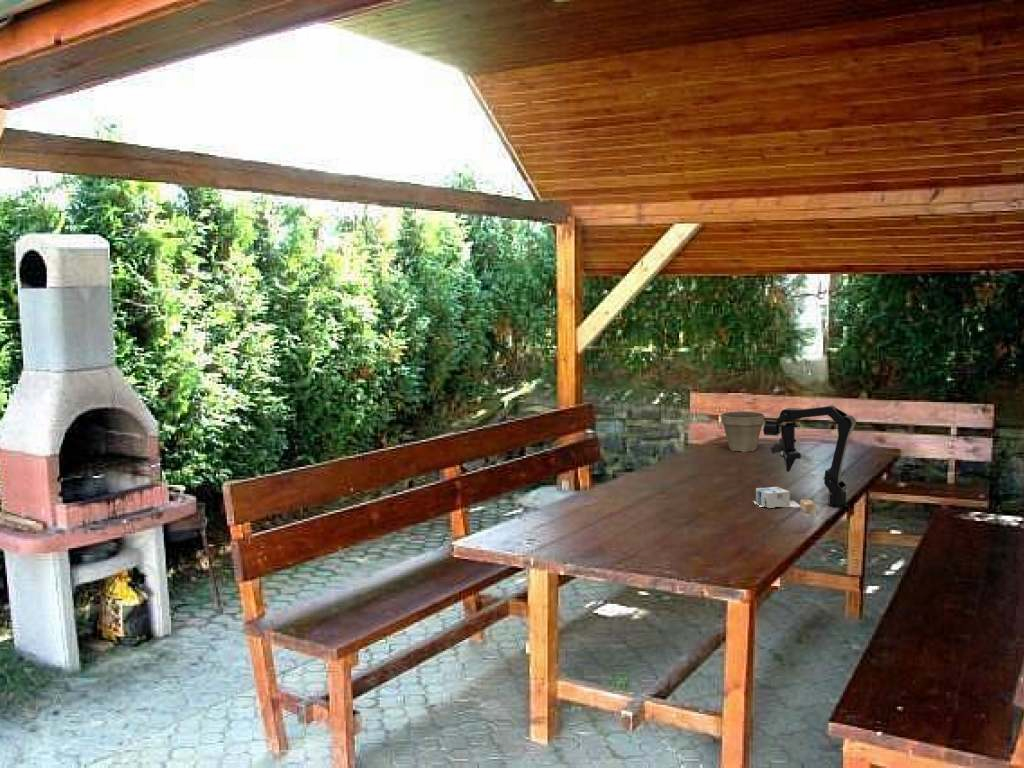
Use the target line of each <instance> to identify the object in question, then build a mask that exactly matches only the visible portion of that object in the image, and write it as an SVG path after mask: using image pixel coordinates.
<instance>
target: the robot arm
mask: <svg viewBox="0 0 1024 768" xmlns="http://www.w3.org/2000/svg"><path fill="white" fill-rule="evenodd" d="M822 416H827V417H829V418H830V419H832V421H833V422H834V423H835V424H837V434H838V436H837V440H836V446H835V449H834V452H833V457H832V462H831V466H830V468H827V469H825V471H824V477H823V478H822V479H823V480H824V481H823V483H824V485H825V487H826V488H827V489H828V494H827V504H828V505H829V506H830V507H832V508H840V507H841V508H843V507H844V508H847V507H848V505H847V491H846V490H847V488H848V485H847V484H846V483H845V482H844V481H843V471H842V467H843V462H844V460H845V459H844V458H845V455H846V451H847V447H848V443H849V438H850V436H851V434H852V432H853V430H854V428H855V426H856V424H857V420H856V419H855V417H854V416H853V415H849V414H847V413H846V412H844V411H842V410H840V409H839V408H837V407H836V406H835V405H833V404H830V405H827V406H818V407H809V408H798V407H797V408H796V407H794V408H793V407H788V408H784V409H782V410H781V412H780V413H779V417H778V418H777V420H772V419H771V420H769V419H766V420H764V426H763V434H764V436H771V437H778V436H779V435H781V437H779V439H778V440H779V441H778V442H774V443H771V444H769V445H768V446H767V448H768V451H769V453H770V454H771V455H774V454H776V453H777V454H778V455H779V457H780V458H782V460H783V463H784V467H785V471H786V472H787V473H788V472H790V471H791V470H792V467H793V464H794V462H795V461H796V460H797V459H798V460H800V459H801V458H802V454H801V452H799V451H798V450H797V448H795V447H796V445H795V444H796V442H797V439H796V429H795V428H798V427H799V428H800V424H799V422H797V421H796V420H799V419H803V418H812V417H822ZM784 423H785V424H784ZM779 453H780V454H779Z"/></svg>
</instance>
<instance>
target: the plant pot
mask: <svg viewBox="0 0 1024 768" xmlns="http://www.w3.org/2000/svg"><path fill="white" fill-rule="evenodd" d="M720 417H721V418H720V420H721V421H720V422H721V424H722V425H723V428H724V432H725V436H726V440H727V443H728V447H729V450H730V451H731V450H732V451H731V452H734V451H741V452H740V453H748V452H747V451H753V452H755V451H756V449H757V447H758V442H759V438H760V434H761V432H762V427H763V424H765V414H764V413H762V412H756V411H729V412H723V413H721V414H720ZM754 450H755V451H754Z"/></svg>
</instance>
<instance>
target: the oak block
mask: <svg viewBox="0 0 1024 768" xmlns="http://www.w3.org/2000/svg"><path fill="white" fill-rule="evenodd" d="M799 505H800V507H799V509H800V508H801V509H802V510H803V511H802V510H801V509H800V510H801V511H802V512H803V513H804V514H816V513H817V512H816V511H817V510H816V503H814V501H812V500H811V499H800V501H799Z"/></svg>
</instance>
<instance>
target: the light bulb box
mask: <svg viewBox="0 0 1024 768" xmlns="http://www.w3.org/2000/svg"><path fill="white" fill-rule="evenodd" d="M755 501H756V503H758V504H760V505H763V506H765V507H767V508H766V509H771V508H772V509H776V508H775V507H784V506H790V501H791V492H790V491H789V490H787V489H784V488H781V487H779V486H772V487H771V486H770V487H756V488H755Z"/></svg>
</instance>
